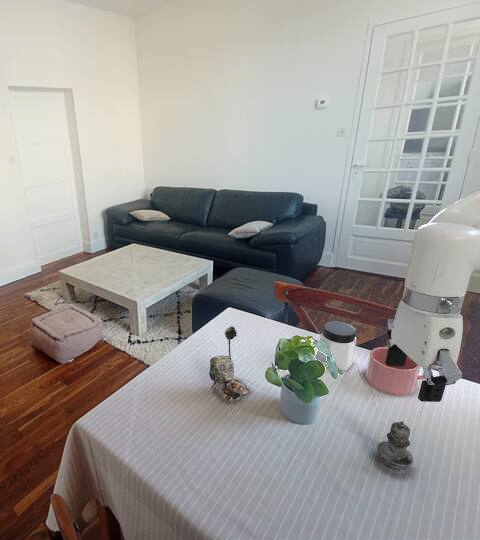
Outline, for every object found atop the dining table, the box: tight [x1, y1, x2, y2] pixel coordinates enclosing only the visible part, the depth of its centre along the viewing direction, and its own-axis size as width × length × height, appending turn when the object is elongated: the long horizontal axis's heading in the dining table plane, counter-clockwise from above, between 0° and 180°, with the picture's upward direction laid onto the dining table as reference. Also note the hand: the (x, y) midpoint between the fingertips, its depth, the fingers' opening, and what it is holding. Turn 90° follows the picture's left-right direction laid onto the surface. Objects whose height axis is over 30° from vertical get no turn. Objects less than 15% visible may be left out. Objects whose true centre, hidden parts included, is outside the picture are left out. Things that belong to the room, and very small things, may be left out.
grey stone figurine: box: [376, 420, 415, 471], centre depth 68 cm, size 6×6×12 cm
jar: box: [317, 320, 357, 371], centre depth 99 cm, size 9×8×12 cm
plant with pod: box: [208, 325, 249, 402], centre depth 91 cm, size 8×11×20 cm
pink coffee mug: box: [365, 346, 433, 396], centre depth 90 cm, size 14×10×8 cm
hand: (410, 381), depth 62 cm, fingers open, 9 cm apart
